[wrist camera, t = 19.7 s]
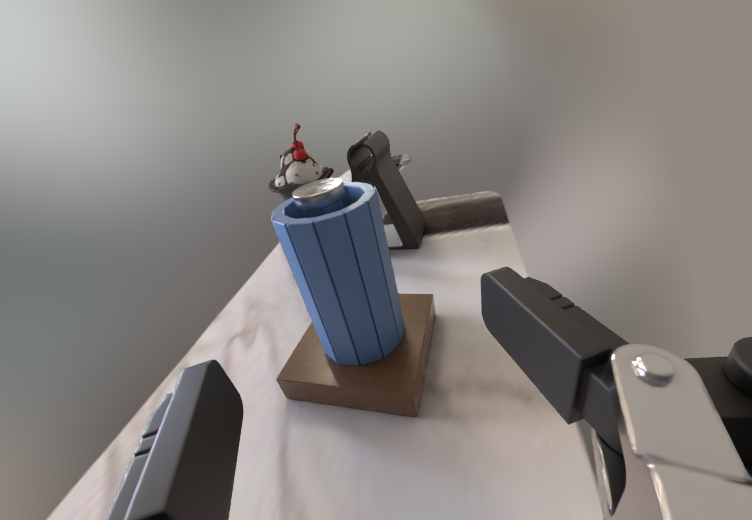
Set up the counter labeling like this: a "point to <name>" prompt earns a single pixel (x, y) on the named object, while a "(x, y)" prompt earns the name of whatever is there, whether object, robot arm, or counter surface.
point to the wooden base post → (360, 383)
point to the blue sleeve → (345, 275)
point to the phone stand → (388, 189)
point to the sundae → (297, 170)
